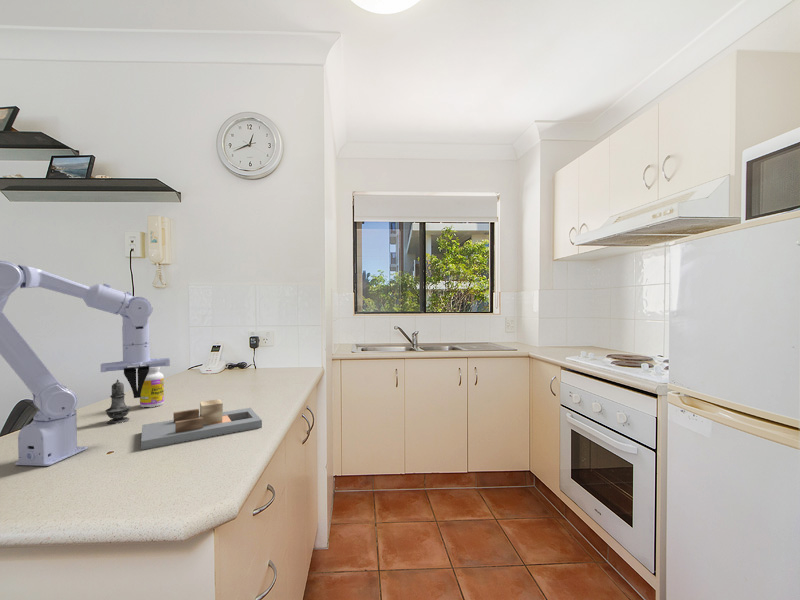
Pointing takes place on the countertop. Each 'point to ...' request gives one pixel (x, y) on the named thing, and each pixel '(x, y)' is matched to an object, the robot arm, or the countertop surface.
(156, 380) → the supplement bottle
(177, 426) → the channel walls
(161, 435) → the deck
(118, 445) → the countertop surface
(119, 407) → the salt shaker
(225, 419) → the tile
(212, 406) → the block
